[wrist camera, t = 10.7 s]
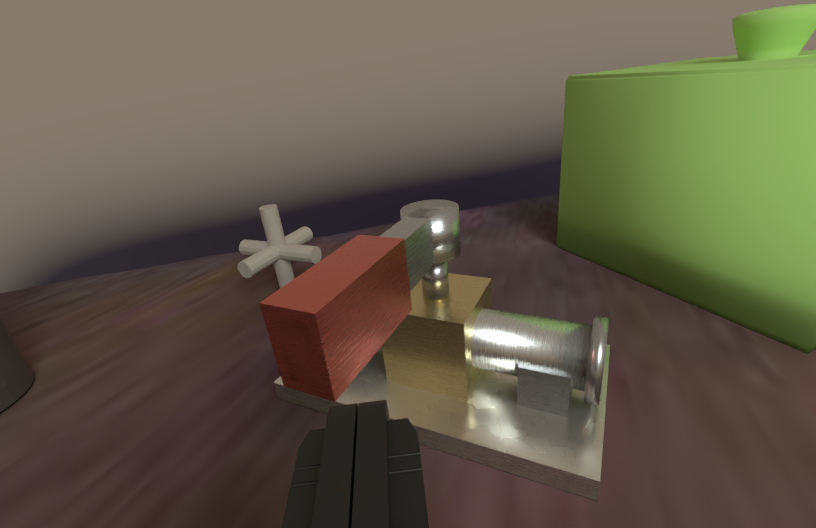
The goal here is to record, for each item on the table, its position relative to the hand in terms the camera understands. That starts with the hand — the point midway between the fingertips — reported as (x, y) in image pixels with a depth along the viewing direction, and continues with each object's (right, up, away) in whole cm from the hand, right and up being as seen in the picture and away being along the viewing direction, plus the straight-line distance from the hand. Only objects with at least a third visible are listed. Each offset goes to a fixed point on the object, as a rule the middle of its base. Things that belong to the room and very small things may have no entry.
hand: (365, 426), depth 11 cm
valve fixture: (+4, -4, +20) cm, 21 cm away
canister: (+34, +5, +33) cm, 48 cm away
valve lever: (0, +2, +11) cm, 12 cm away
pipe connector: (-12, +1, +36) cm, 38 cm away
